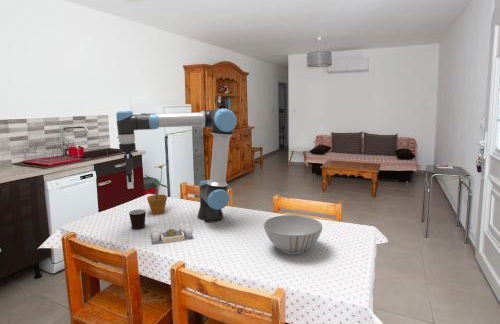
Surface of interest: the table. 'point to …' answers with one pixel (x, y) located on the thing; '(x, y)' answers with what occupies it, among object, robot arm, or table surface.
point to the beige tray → (181, 235)
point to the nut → (171, 232)
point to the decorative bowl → (292, 232)
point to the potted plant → (157, 197)
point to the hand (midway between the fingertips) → (130, 185)
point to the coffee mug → (137, 219)
